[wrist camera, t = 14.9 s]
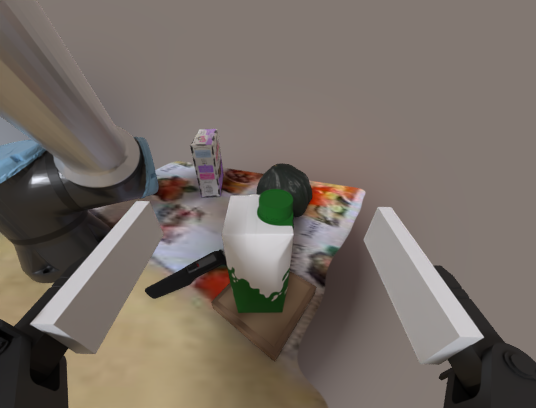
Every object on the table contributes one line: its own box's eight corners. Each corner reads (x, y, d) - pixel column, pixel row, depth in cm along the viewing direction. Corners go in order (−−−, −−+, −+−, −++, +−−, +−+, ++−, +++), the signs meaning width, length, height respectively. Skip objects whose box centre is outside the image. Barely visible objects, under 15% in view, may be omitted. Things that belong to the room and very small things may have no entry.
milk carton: (288, 318, 32) (302, 223, 20) (230, 319, 32) (210, 224, 20) (284, 270, 40) (292, 178, 28) (236, 270, 39) (223, 179, 27)
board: (213, 308, 36) (211, 301, 35) (259, 259, 44) (259, 252, 43) (274, 361, 30) (275, 356, 29) (314, 293, 38) (316, 286, 37)
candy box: (220, 197, 63) (212, 144, 53) (201, 198, 62) (188, 144, 53) (224, 174, 74) (217, 127, 64) (207, 175, 73) (198, 128, 64)
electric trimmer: (148, 291, 39) (142, 281, 37) (223, 252, 46) (221, 242, 44) (153, 307, 37) (146, 298, 35) (231, 264, 44) (229, 254, 42)
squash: (320, 182, 60) (288, 142, 54) (323, 217, 48) (282, 171, 42) (282, 204, 67) (250, 171, 61) (276, 238, 55) (236, 202, 50)
